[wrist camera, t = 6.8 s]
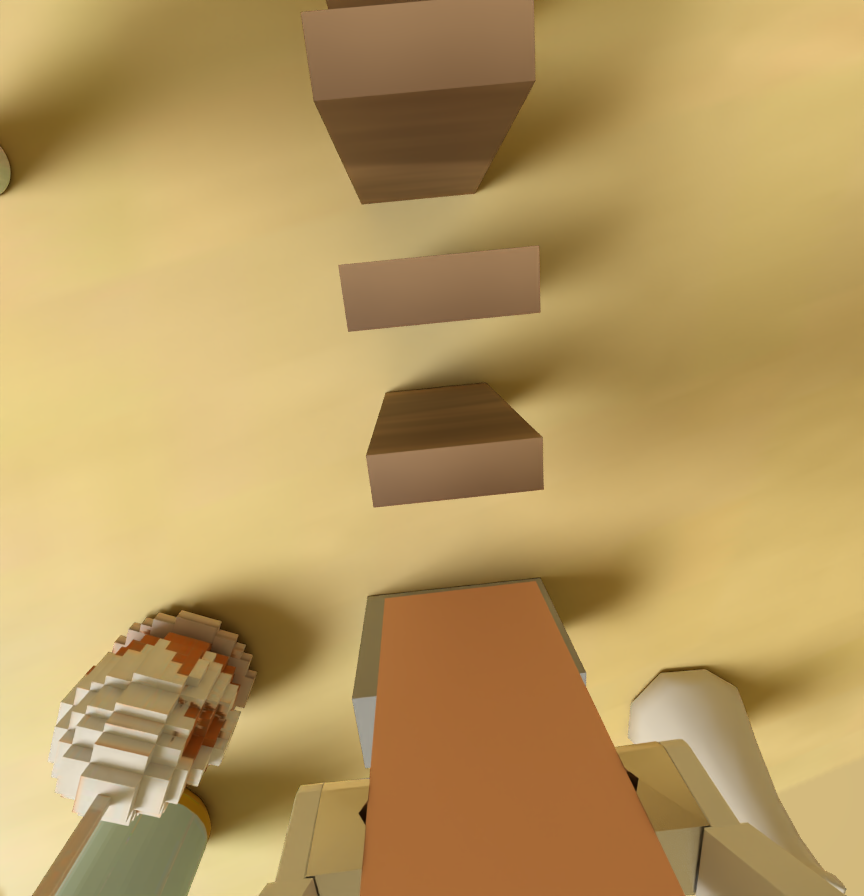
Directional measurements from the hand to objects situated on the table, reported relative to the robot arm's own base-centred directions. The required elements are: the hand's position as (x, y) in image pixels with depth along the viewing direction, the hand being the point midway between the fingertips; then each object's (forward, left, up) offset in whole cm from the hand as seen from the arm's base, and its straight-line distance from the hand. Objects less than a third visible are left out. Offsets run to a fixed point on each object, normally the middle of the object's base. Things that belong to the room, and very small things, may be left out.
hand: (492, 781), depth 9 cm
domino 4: (0, 0, -6) cm, 6 cm away
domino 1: (0, -15, -15) cm, 21 cm away
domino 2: (0, -10, -15) cm, 18 cm away
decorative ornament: (+16, +9, -15) cm, 24 cm away
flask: (-14, +17, -15) cm, 27 cm away
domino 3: (0, -5, -15) cm, 16 cm away
